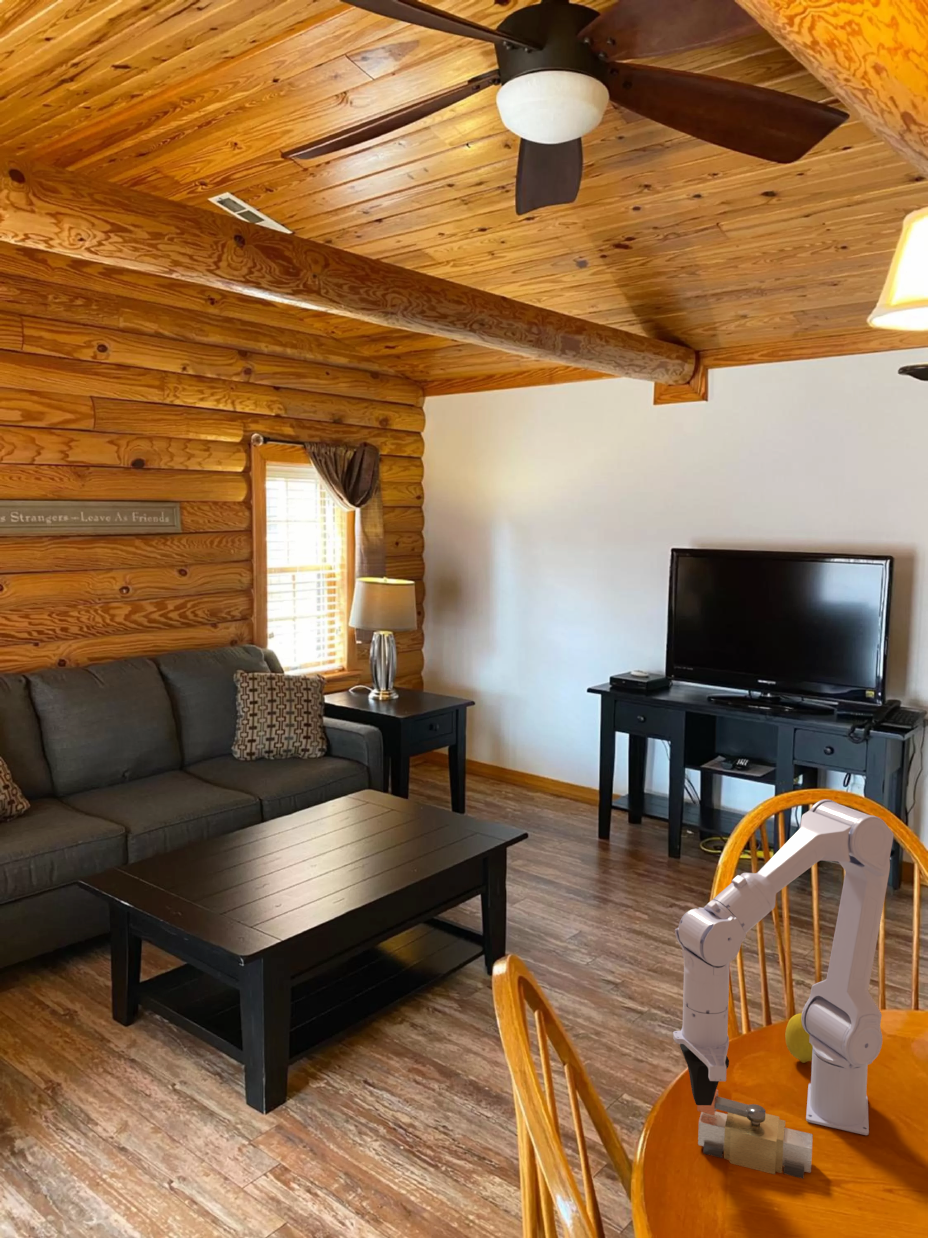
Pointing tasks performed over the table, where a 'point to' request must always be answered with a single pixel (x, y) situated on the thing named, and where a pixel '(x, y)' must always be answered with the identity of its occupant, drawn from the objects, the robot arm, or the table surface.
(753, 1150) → the valve
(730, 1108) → the lever
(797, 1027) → the lemon
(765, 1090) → the table surface
